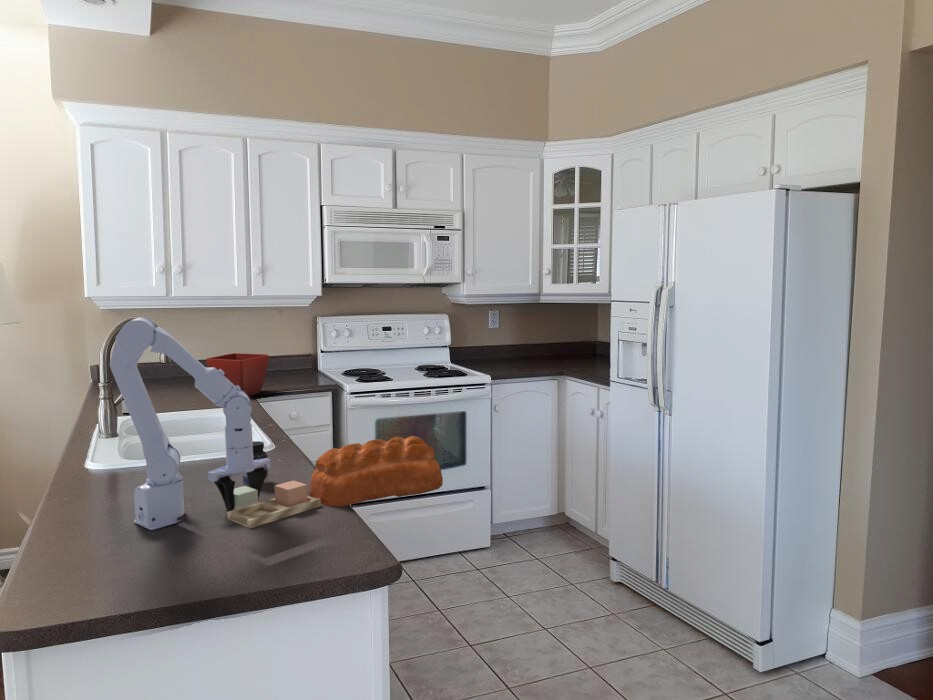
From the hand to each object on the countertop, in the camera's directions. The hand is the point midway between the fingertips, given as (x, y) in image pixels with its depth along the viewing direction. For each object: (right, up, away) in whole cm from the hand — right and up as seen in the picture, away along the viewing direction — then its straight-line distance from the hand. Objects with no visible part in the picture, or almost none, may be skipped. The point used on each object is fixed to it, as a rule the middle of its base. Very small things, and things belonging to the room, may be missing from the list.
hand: (242, 505), depth 163 cm
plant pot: (-48, +15, +152) cm, 160 cm away
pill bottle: (-2, 0, +19) cm, 19 cm away
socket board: (+8, -2, -4) cm, 9 cm away
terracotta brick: (+11, 0, -1) cm, 11 cm away
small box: (-77, +11, +116) cm, 140 cm away
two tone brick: (0, -2, 0) cm, 2 cm away
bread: (+29, 0, +13) cm, 31 cm away
